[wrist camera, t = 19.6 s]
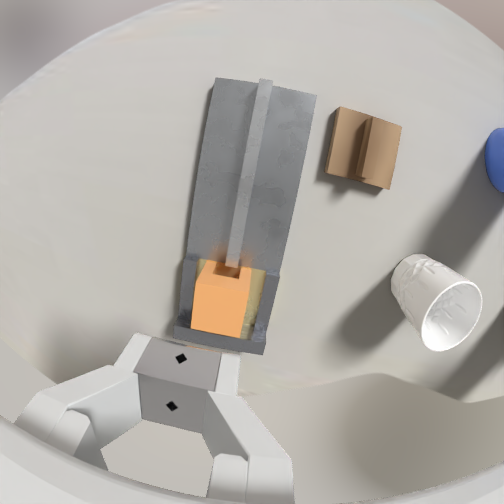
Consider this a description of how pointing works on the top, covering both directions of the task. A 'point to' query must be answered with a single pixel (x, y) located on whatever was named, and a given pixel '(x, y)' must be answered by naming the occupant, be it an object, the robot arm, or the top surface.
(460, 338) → the white cup
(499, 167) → the water bottle
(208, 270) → the orange notched block
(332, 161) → the pad
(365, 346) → the top surface
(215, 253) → the rail
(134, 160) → the top surface
